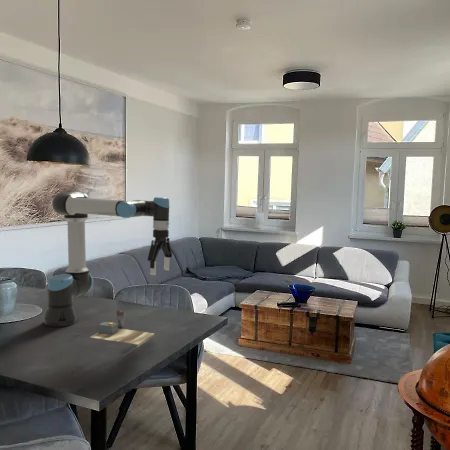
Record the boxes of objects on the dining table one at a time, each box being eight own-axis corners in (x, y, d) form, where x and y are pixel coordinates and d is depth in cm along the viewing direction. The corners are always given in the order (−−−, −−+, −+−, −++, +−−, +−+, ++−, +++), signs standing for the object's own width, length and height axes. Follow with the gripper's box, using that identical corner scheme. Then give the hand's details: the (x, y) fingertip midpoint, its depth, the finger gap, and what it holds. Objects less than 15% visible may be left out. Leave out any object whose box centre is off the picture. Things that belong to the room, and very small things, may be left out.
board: (89, 339, 206) (89, 337, 206) (108, 329, 221) (108, 327, 221) (137, 347, 199) (137, 344, 199) (154, 335, 214) (154, 333, 214)
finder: (98, 333, 212) (98, 323, 211) (104, 329, 216) (104, 320, 216) (112, 335, 210) (112, 325, 209) (117, 331, 214) (117, 322, 214)
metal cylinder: (115, 330, 220) (115, 311, 219) (118, 328, 224) (119, 309, 223) (121, 331, 219) (121, 312, 218) (125, 329, 222) (125, 310, 222)
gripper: (154, 231, 211) (153, 277, 212) (179, 227, 234) (178, 269, 236) (140, 230, 213) (139, 276, 215) (166, 226, 236) (165, 267, 238)
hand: (159, 272), depth 225 cm, fingers open, 13 cm apart
